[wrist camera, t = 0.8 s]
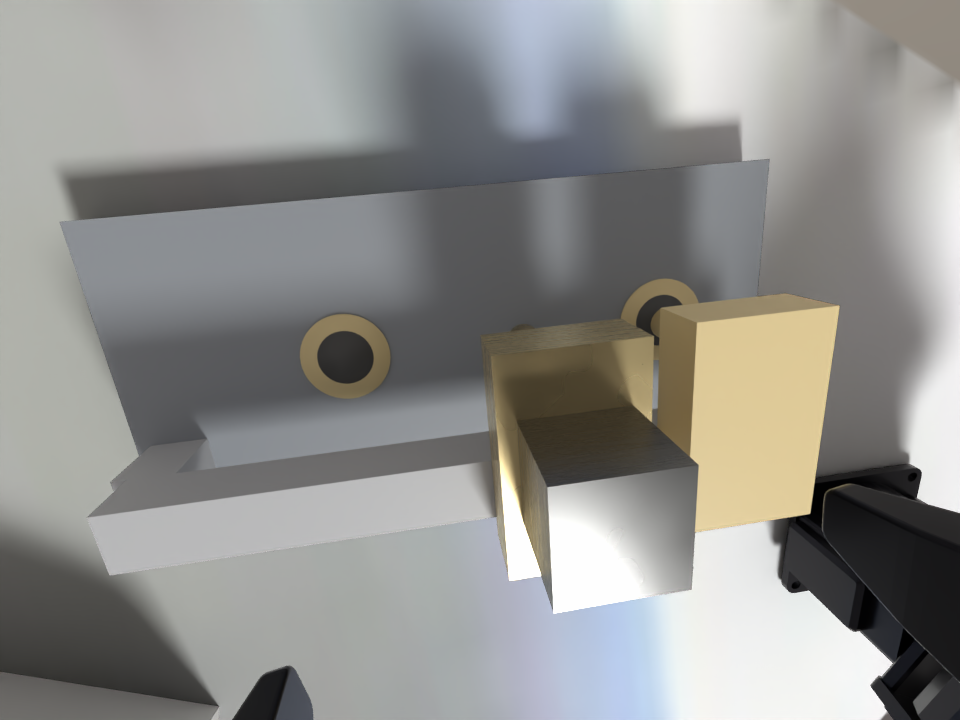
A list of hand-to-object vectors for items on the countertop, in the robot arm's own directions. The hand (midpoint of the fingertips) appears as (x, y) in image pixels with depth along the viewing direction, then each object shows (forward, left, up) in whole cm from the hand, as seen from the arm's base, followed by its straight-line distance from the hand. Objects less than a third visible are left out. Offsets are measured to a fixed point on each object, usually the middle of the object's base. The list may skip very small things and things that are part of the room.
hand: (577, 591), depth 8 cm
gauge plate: (+1, -1, -13) cm, 13 cm away
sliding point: (-2, +1, -11) cm, 11 cm away
